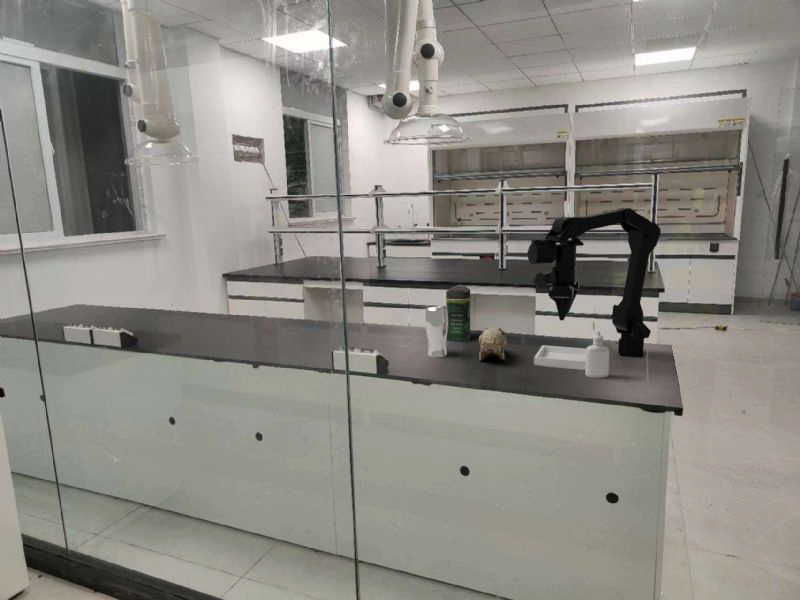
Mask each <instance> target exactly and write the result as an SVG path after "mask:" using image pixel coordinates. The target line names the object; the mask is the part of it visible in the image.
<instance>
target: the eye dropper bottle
mask: <svg viewBox="0 0 800 600" xmlns="http://www.w3.org/2000/svg"><path fill="white" fill-rule="evenodd" d="M585 349H586V370H584V371H585V376H586V377H587V378H592V379H594V378H595V379H601V378H602V379H603V378H607V377H609V374H610V373H609V371H610V370H609V369H610V348H609V347H607V345H604V337H603V336H602V335H601V331H598V330H597V331H596V333H595V335H593V337H592V344H591V345H588V346H587V347H586V348H585Z"/></svg>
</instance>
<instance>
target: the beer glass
mask: <svg viewBox="0 0 800 600" xmlns="http://www.w3.org/2000/svg"><path fill="white" fill-rule="evenodd" d="M424 314H425V315H424V320H425V321H424V325H425V332H426V338H427V343H428V348H427V349H428V351H427V355H428V356H429V357H434V358H441V357H446V356H448V352H447V340H446V339H447V333H448V310H447V308H446V306H438V305H437V306H428V307H426V308H425V313H424Z"/></svg>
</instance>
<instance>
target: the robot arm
mask: <svg viewBox="0 0 800 600" xmlns="http://www.w3.org/2000/svg"><path fill="white" fill-rule="evenodd" d="M618 224H619V226H620V227H621V229H622V230H623V231H624V232H626V233H627V242H628V245H629V248H630V257H629V262H628V268H627V273H626V279H625V284H624V289H623V293H622V294H623V295H622V299H621V301H620V302H619V303H618V305H617V304H613V306H612V313H611V315H610V318H611V319H612V320H611V322H612V324H613V326H614V328H615V331H616V333H617V334H620V337H619V338H618V349H617V351H618V352H617V353H618V354H619V357H629V358H640V359H641V358H642V359H643V358H644V356H645V355H644V348H645V347H644V345H645V343H644V342H645V339H648V338H650V335H651V329H650V328H649V327H648V326H647V325H646V324H645V323H644V312H643V307H642V304H641V301H642V295H643V289H644V286H645V280H646V274H647V269H648V264H649V259H650V254H651V253H652V252H653V250H654V249H655V248H656V246H658V242H659V240H660V236H661V232H662V230H661V227H659V224H658V223H656V222H652V221H651V220H650V219H648V218H646V217H644V216H643V215H641V214H639V213H637V211H635V210H634V209H632V208H631V207H625V208H624V207H621V208H620V207H619V208H617V209H614V210H609V211H604V212H599V213H594V214H589V215H585V216H562V217H561V216H560V217H559V216H558V217H557V218H555V219H554V220H553V222H552V226H551V229H550V230H549V231H548V232H547V233H546V236H545V237H544V239H537V238H536V239H533V238H532V239H531V241H530V242H531V244H529V247H528V250H527V255H526V256H527V260H528V262H529V264H531V265H545V264H553V262H554V266H553V267H552V269H551V271H547V272H545V273H544V272H543V271H541V272H539V273H536V274H535V276H534V277H532V279H533V284H534V285H535V287H536V289H539V288H542V287H543V286H548V285H550V284H551V286H550V288H549V289H548V295H547V296H548V297H549V299H551V300H552V301H554V303H555V305H556V309H557V313H558V314H557V315H558V318H559V321H565V318H566V316H567V315H568V314H569V312H570V310H571V307H572V306H573V303H574V301H575V299H576V296H577V294H578V292H579V290H580V289H579V288H580V282H581V281H580V280H579V279H578V278H577V277H576V274H577V271H576V270H577V268H578V266H577V247H581V246H584V244H585V243H584V242H583V241H581V239H580V238H579V237H580V236H582V235H584V234H585V233H587V232H590V231H591V230H596V229H600V228H605V227H609V226H614V225H618Z"/></svg>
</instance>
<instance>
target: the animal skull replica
mask: <svg viewBox="0 0 800 600" xmlns="http://www.w3.org/2000/svg"><path fill="white" fill-rule="evenodd" d="M478 343H479V346H480V351H479V353H478V356H479V357H478V362H482V361H486V360H487V359H489V358H491V357H495V358H496V359H498V360H499V362H501V361H503V362H505V361H506V359H505V352H504V351H505V350H504V348H505V346H506V345H508V340H507V338H506V332H505V331H504V330H502V328H501V327H487V326H486V327H485V328H484V329H483V332H482V333H481V334H480V335H479V337H478Z"/></svg>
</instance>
